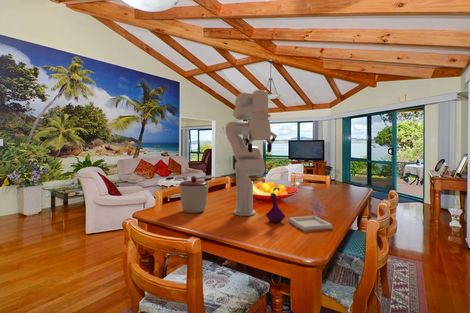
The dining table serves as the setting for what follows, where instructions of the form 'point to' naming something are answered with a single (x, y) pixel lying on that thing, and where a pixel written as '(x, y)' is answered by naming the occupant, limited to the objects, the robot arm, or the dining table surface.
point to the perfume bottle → (275, 210)
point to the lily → (317, 207)
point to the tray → (310, 223)
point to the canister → (193, 195)
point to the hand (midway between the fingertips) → (259, 152)
